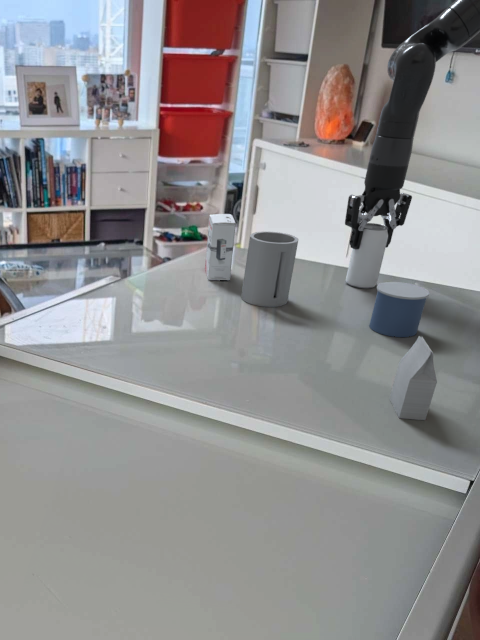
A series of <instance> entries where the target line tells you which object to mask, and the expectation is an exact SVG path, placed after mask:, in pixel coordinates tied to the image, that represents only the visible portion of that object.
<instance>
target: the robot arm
mask: <svg viewBox="0 0 480 640" xmlns="http://www.w3.org/2000/svg"><path fill="white" fill-rule="evenodd" d="M479 33H480V0H454V1H453V2H452V3H450V5H449V6H447V8H445V9H444V10H443V11H442V12H441V13H440V14H439V15H437V16H436V18H434V19H433V20H432V21H430V22H429V23H427V24H425V25H424V26H423V27H421V28H420V29H419V30H417V31H416V32H414V33H413V34H411V36H409V37H408V38H406V39H405V40H404V41H403V42H402V43H400V44H399V45H398V47H396V48H395V49H394V51H393V52H392V53H391V54H390V57H389V59H388V61H387V66H386V67H387V74H388V77H389V79H390V80H391V81H392V82H393V83H392V87H391V90H390V94H389V98H388V101H387V102H386V103H385V104H383V106H382V109H381V112H380V115H379V118H378V124H377V128H376V133H375V137H374V141H373V143H372V146H371V150H370V154H369V159H368V164H367V169H366V173H365V178H364V190H363V193H362V194H360V195H354V194H350V195H349V196H348V198H347V205H346V211H345V212H346V213H345V220H344V225H345V226H347V227H349V228H351V233H350V238H349V246H350V248H351V249H359V248H360V243H361V239H362V235H363V231H362V230H363V229H364V227H365V226H366V224H367V223H370V222H371V221H372V220H373V218H374V217H378V216H380V217H381V218H382V221H383V225H384V226H387V227H388V229H387V232H388V239H387V244H386V248H387V249H388V247H389V245H390V244H391V242H392V239H393V238H392V237H393V234H394V230H396V228H397V227H399V226H400V227H402V226H404V224H405V222H406V218H407V216H408V213H409V209H410V206H411V202H412V199H413V196H412V195H411V194H408V193H405V192H401V189H403V187H404V185H405V180H406V178H407V177H406V176H407V173H408V169H409V165H410V160H411V156H412V152H413V147H414V146H413V145H414V137H415V134H416V129H417V126H418V122H419V117H420V112H421V109H422V107H423V105H424V103H425V100H426V98H427V95H428V93H429V91H430V88H431V85H432V82H433V79H434V75H435V71H436V67H437V62H438V61H440V60H441V59H442V58H443V57H445V56H446V55H448V54H449V53H452V52H455V51H457V50H460V49H461V48H462V47H464V46H465V45H466V44H467V43H469V42H470V41H471V40H472V39H473V38H474V37H476V36H477V35H478V34H479ZM386 248H385V249H386Z"/></svg>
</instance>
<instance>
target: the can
mask: <svg viewBox="0 0 480 640" xmlns="http://www.w3.org/2000/svg"><path fill="white" fill-rule="evenodd" d="M387 229H388V227H387V226H384V224H380V223H374V222H373V223H372V222H368V223H367V224H366V226H365V227H364V229H363V230H362V231H363V235H362V239H361V243H360V248H359V249H353V248H351V254H350V257H349V258H350V259H349V263H348V267H347V272H346V277H345V283H346V284H347V285H348V286H350V287H353V288H357V289H365V290H367V289H373V288H375V286H376V287H377V285H378V281H379V277H380V273H381V268H382V264H383V260H384V256H385V251H386V244H387V239H388V232H387Z"/></svg>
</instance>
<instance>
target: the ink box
mask: <svg viewBox="0 0 480 640" xmlns="http://www.w3.org/2000/svg"><path fill="white" fill-rule="evenodd" d="M208 216H209V217H208V226H207V228H208V229H207V240H206V252H205V264H204V270H205V274H206V277H207V280H208V281H220V280H230V281H231V274H232V264H233V254H234V244H235V237H236V236H235V235H236V226H237V225H236V220H235V218H234V216H233V214H230V213H215V214H214V213H213V214H209V215H208Z"/></svg>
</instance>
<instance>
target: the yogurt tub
mask: <svg viewBox="0 0 480 640" xmlns="http://www.w3.org/2000/svg"><path fill="white" fill-rule="evenodd" d="M376 290H377V292H376V297H375V301H374V305H373V308H372V313H371V317H370V321H369V325H368V326H369V329H370V330H372V331H373V332H375V333H378V334H379V335H383V336H387V337H388V336H389V337H394V336H395V337H394V338H410V337H415V336H416V335H417V333H418V330H419V326H420V322H421V318H422V316H423V312H424V308H425V304H426V301H427V298H429V296H430V291H429V290H428V289H426V287H423V286H421V285H417V284H413V283H409V282H403V281H384V282H379V283H377V284H376ZM409 336H410V337H409Z"/></svg>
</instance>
